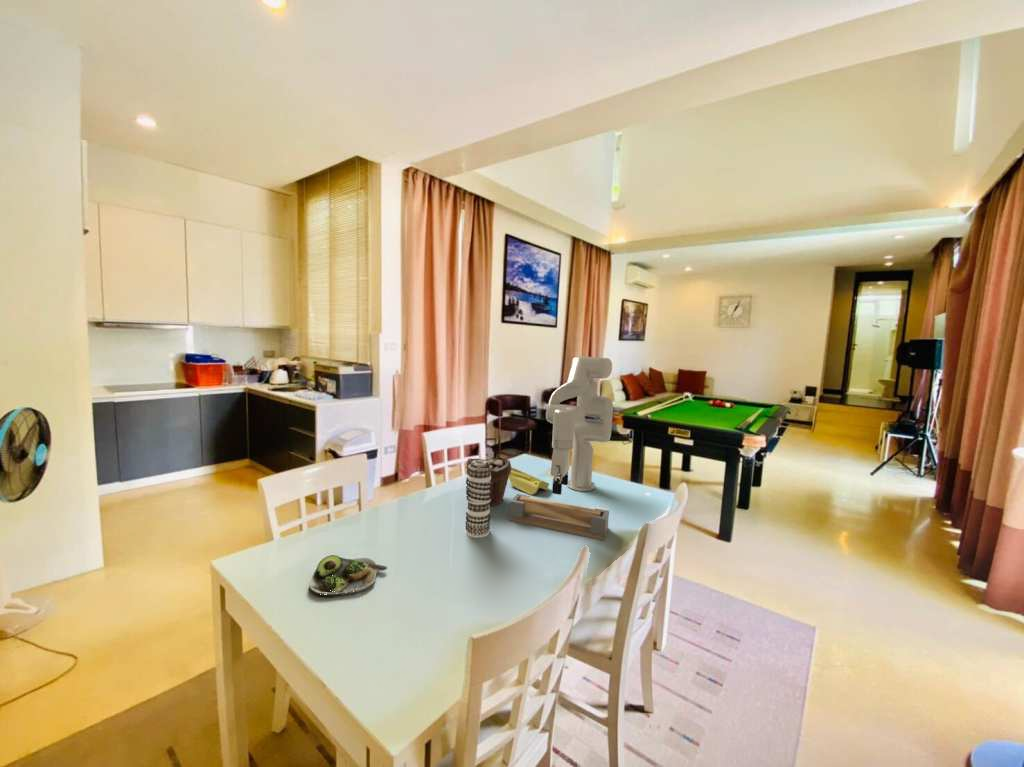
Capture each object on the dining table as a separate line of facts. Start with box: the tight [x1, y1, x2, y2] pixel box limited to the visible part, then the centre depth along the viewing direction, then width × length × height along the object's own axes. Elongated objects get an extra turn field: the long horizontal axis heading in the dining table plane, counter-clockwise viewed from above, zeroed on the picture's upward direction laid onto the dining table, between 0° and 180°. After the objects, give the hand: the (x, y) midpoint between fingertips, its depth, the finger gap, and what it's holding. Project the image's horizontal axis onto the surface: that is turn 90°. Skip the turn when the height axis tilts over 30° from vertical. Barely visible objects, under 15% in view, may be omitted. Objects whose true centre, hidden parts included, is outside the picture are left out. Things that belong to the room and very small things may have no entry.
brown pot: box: [465, 457, 513, 507], centre depth 172 cm, size 18×20×18 cm
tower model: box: [465, 460, 493, 539], centre depth 143 cm, size 9×9×25 cm
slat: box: [519, 496, 601, 526], centre depth 153 cm, size 3×30×5 cm, turn 70°
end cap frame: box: [508, 493, 610, 541], centre depth 153 cm, size 10×35×7 cm, turn 69°
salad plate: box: [308, 554, 388, 598], centre depth 116 cm, size 19×18×5 cm
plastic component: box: [508, 466, 550, 496], centre depth 189 cm, size 20×7×10 cm
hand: (560, 488), depth 152 cm, fingers open, 9 cm apart
